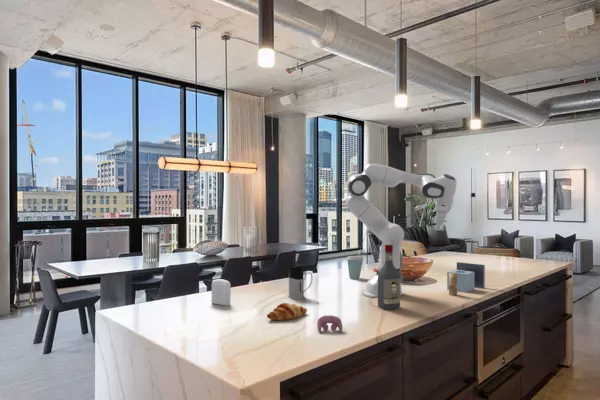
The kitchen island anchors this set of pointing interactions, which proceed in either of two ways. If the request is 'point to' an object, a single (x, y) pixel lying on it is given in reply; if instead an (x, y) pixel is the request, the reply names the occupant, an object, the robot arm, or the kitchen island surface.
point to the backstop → (478, 272)
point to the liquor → (388, 283)
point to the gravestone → (221, 292)
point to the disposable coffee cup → (354, 266)
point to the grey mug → (297, 283)
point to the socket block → (463, 280)
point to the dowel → (453, 284)
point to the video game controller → (329, 319)
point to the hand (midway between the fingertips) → (438, 226)
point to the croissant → (286, 312)
